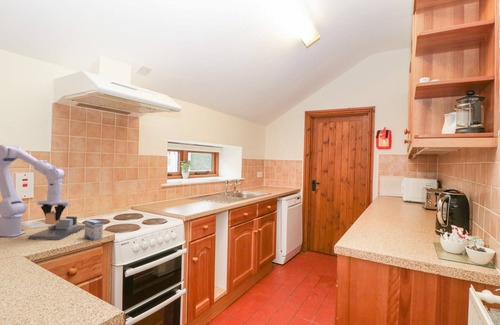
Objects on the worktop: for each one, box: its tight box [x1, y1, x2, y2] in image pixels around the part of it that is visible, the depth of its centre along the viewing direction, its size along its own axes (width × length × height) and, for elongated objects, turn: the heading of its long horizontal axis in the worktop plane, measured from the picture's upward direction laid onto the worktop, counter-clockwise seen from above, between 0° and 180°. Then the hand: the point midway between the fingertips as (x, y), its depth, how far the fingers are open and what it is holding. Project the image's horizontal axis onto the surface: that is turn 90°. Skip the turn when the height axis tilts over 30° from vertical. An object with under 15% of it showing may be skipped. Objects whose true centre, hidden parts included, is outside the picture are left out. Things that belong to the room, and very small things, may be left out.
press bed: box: [28, 223, 85, 241], centre depth 144 cm, size 14×24×4 cm, turn 4°
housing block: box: [44, 210, 59, 225], centre depth 137 cm, size 4×4×6 cm
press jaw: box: [55, 215, 78, 229], centre depth 150 cm, size 7×9×5 cm
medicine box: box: [84, 219, 104, 241], centre depth 138 cm, size 8×4×9 cm, turn 62°
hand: (52, 219), depth 137 cm, fingers closed on housing block, 4 cm apart
